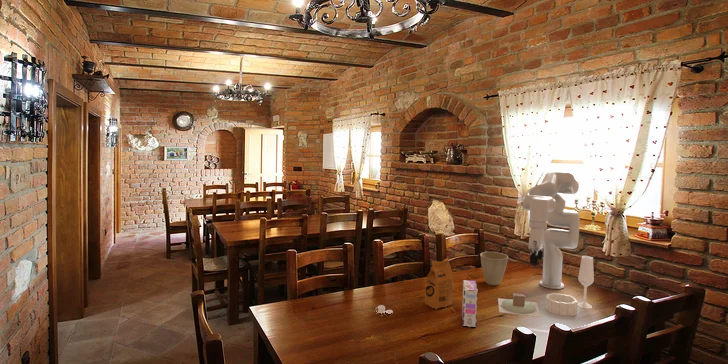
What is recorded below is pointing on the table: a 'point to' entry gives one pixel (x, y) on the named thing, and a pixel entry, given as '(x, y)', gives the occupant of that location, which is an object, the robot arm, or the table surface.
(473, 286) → the candy box
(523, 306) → the lid
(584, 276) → the champagne flute
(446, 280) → the coffee package
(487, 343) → the table surface
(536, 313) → the mat
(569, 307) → the bowl
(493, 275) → the plant pot
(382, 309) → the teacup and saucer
